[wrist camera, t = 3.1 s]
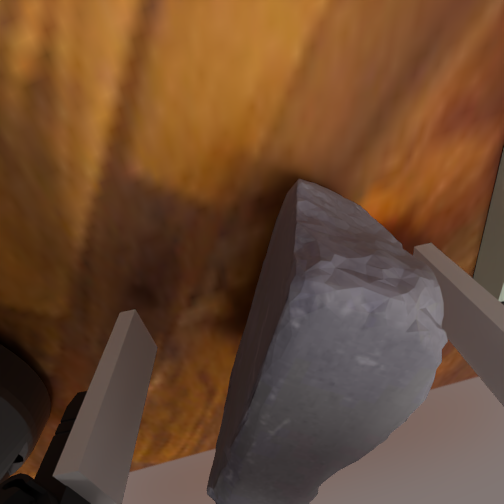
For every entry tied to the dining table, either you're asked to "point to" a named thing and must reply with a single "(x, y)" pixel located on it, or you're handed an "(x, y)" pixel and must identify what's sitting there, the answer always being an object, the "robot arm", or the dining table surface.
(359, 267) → the stone block
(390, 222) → the dining table surface
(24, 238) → the dining table surface
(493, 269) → the base
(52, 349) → the dining table surface
